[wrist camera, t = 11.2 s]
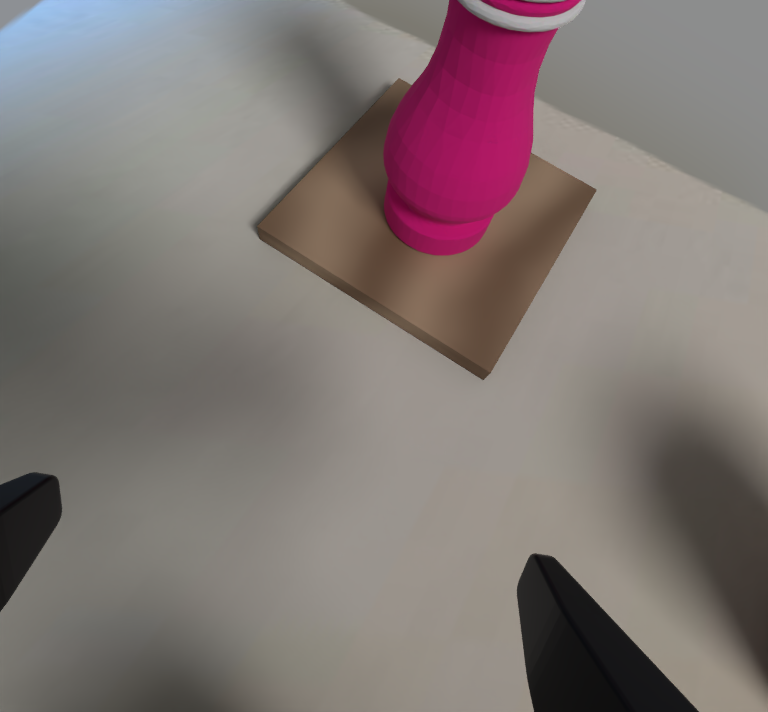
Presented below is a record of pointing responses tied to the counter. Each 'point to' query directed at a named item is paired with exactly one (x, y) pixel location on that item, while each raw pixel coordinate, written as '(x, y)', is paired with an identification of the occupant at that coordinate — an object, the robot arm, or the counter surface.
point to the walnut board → (417, 269)
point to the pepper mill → (468, 122)
